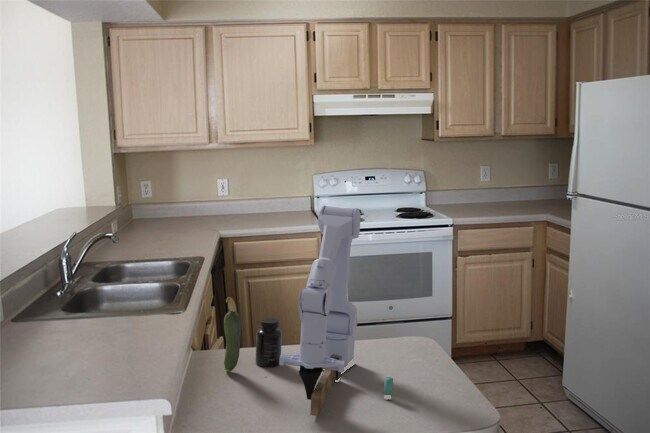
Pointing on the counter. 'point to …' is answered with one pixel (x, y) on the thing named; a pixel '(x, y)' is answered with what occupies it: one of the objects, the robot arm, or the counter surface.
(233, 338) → the vegetable
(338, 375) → the hinge post
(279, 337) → the supplement bottle
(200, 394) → the counter surface
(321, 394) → the wooden plank
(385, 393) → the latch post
